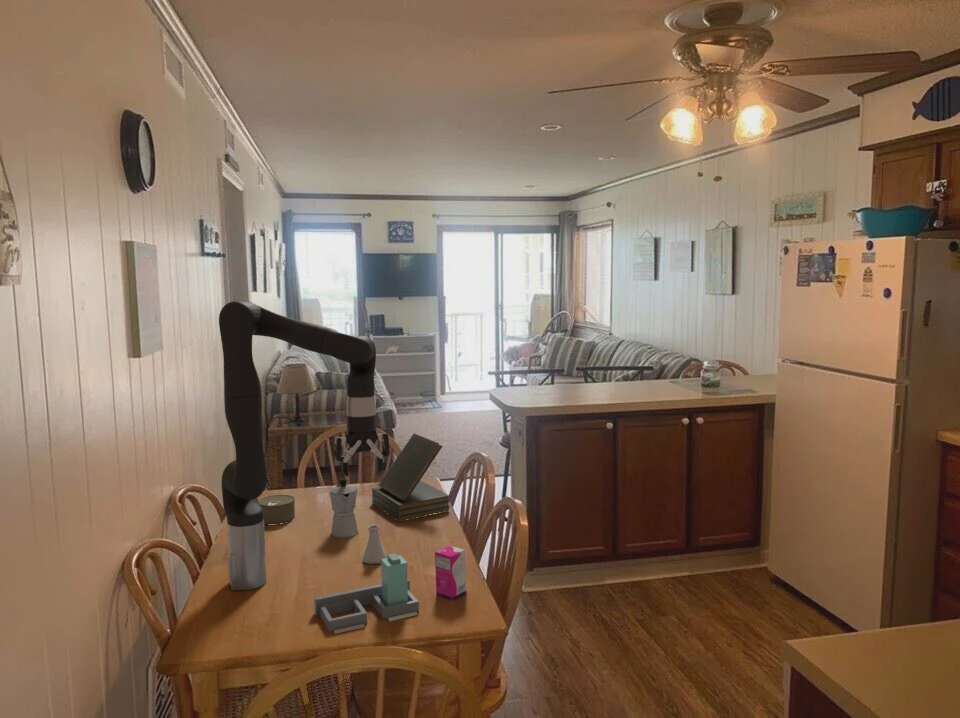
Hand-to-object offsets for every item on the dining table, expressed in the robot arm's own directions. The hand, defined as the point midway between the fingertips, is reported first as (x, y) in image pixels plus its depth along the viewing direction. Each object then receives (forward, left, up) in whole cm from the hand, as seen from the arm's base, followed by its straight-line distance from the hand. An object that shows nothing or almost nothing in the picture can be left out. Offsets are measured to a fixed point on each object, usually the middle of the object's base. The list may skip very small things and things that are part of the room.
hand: (362, 473), depth 179 cm
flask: (+7, +14, -30) cm, 34 cm away
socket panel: (-4, -17, -30) cm, 35 cm away
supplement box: (+18, -16, -30) cm, 39 cm away
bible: (+33, +54, -31) cm, 70 cm away
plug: (+3, -17, -30) cm, 34 cm away
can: (-12, +63, -30) cm, 71 cm away
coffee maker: (+5, +40, -30) cm, 50 cm away
